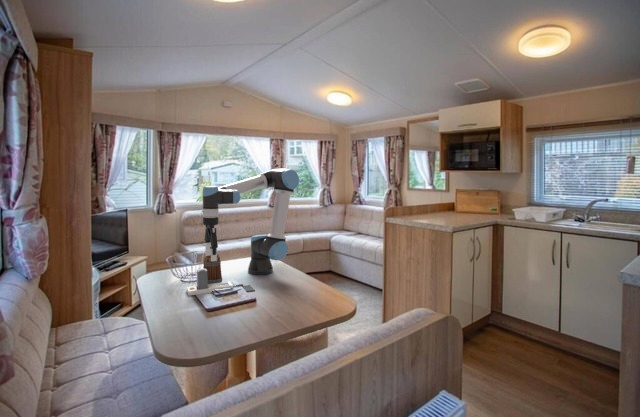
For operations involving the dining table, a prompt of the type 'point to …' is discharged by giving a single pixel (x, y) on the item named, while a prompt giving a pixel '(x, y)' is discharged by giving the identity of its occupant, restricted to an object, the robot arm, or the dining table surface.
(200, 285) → the charger
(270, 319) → the dining table surface
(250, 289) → the mat
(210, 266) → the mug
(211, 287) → the power strip
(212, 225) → the robot arm
